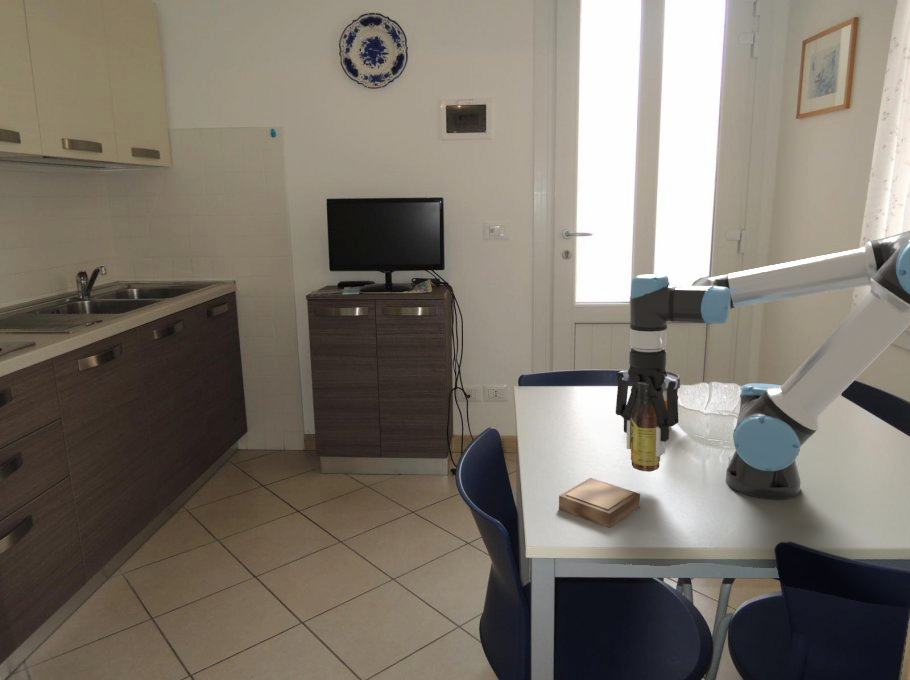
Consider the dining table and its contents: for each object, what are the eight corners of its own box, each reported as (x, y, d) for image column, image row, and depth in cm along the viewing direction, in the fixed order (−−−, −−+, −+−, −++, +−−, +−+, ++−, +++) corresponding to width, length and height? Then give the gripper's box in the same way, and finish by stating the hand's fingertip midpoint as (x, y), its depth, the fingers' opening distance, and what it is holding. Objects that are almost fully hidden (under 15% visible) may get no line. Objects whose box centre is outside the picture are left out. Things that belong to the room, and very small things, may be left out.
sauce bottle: (637, 459, 152) (639, 375, 148) (664, 465, 148) (667, 379, 144) (625, 469, 147) (626, 382, 143) (652, 475, 143) (654, 386, 139)
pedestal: (639, 506, 140) (640, 492, 140) (609, 527, 132) (609, 512, 131) (590, 490, 148) (590, 476, 148) (558, 508, 140) (559, 494, 139)
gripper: (699, 350, 138) (695, 456, 143) (616, 339, 151) (615, 436, 156) (683, 357, 133) (679, 466, 137) (599, 345, 146) (598, 445, 150)
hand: (645, 450), depth 146 cm, fingers closed on sauce bottle, 6 cm apart
